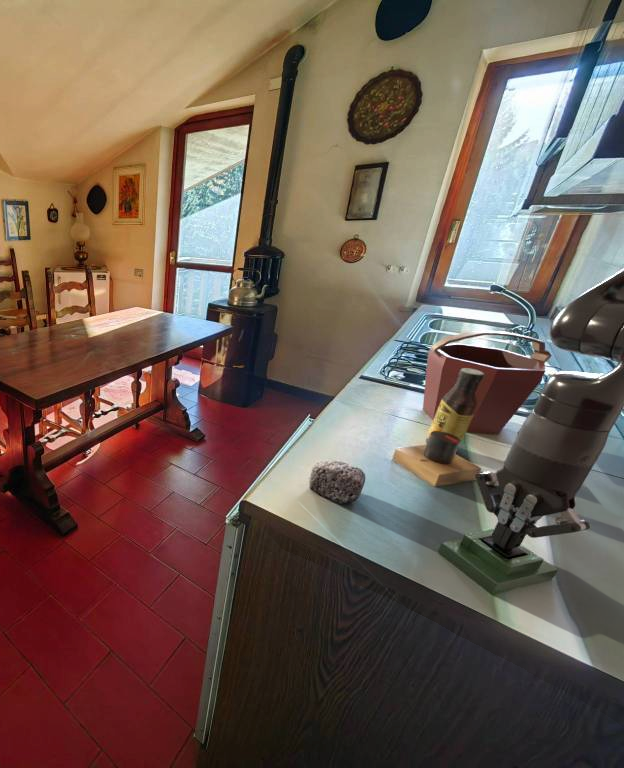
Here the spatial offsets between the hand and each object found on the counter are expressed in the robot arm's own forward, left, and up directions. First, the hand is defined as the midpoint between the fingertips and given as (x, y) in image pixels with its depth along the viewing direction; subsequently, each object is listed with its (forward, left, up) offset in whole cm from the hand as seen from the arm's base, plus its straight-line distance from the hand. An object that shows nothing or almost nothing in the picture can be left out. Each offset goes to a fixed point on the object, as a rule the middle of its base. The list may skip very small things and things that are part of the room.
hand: (502, 545), depth 59 cm
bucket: (-47, -40, -4) cm, 62 cm away
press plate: (0, 0, -2) cm, 2 cm away
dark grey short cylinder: (-16, -23, -1) cm, 28 cm away
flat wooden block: (-16, -23, -4) cm, 28 cm away
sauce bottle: (-27, -30, -4) cm, 41 cm away
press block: (0, 0, -4) cm, 4 cm away
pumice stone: (+11, -20, -4) cm, 23 cm away
